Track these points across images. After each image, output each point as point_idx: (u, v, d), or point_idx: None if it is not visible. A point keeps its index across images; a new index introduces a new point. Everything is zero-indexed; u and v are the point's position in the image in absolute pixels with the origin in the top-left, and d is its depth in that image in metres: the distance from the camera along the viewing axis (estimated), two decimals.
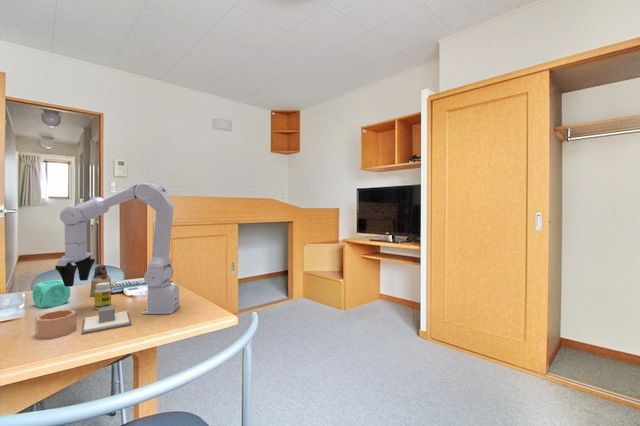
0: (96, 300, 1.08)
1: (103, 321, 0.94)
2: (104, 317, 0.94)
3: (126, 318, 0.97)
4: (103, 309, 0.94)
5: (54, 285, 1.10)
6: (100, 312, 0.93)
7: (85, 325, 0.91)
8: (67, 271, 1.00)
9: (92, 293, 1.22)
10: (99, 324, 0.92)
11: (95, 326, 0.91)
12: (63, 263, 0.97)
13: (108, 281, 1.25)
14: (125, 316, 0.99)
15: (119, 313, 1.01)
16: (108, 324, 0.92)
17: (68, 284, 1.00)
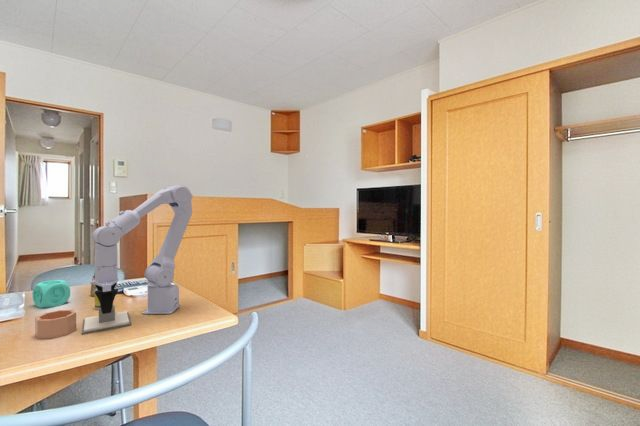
0: (96, 300, 1.08)
1: (103, 321, 0.94)
2: (104, 317, 0.94)
3: (126, 318, 0.97)
4: None
5: (54, 285, 1.10)
6: (100, 312, 0.93)
7: (85, 325, 0.91)
8: (106, 297, 0.92)
9: (92, 293, 1.22)
10: (99, 324, 0.92)
11: (95, 326, 0.91)
12: (109, 288, 0.90)
13: None
14: (125, 316, 0.99)
15: (119, 313, 1.01)
16: (108, 324, 0.92)
17: (107, 311, 0.92)
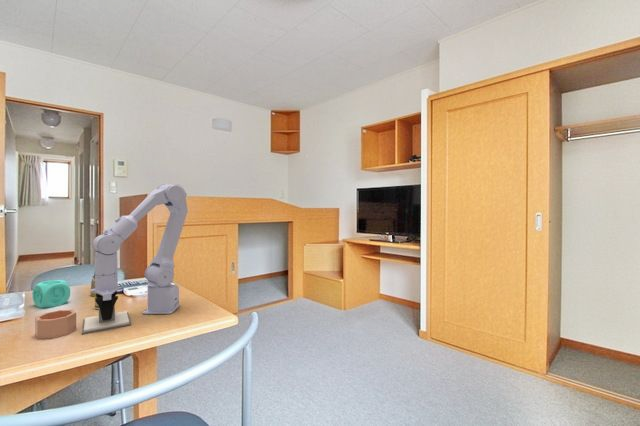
0: None
1: (103, 321, 0.94)
2: None
3: (126, 318, 0.97)
4: None
5: (54, 285, 1.10)
6: (100, 312, 0.93)
7: (85, 325, 0.91)
8: (106, 304, 0.93)
9: (92, 293, 1.22)
10: (99, 324, 0.92)
11: (95, 326, 0.91)
12: (110, 297, 0.90)
13: None
14: (125, 316, 0.99)
15: (119, 313, 1.01)
16: (108, 324, 0.92)
17: (107, 317, 0.94)
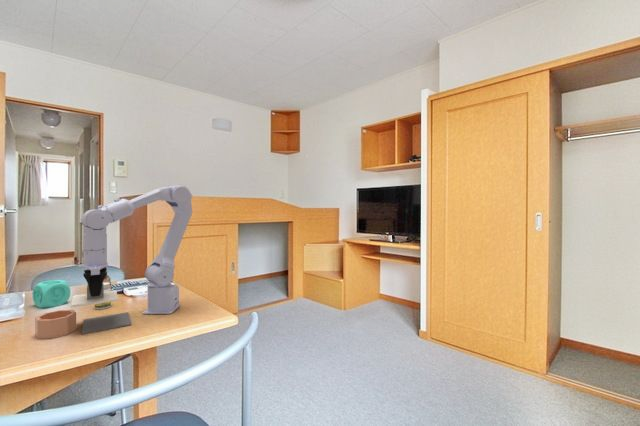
0: None
1: (91, 298, 0.92)
2: None
3: (115, 296, 0.95)
4: None
5: (54, 285, 1.10)
6: (88, 289, 0.91)
7: (73, 301, 0.89)
8: (95, 279, 0.92)
9: None
10: (87, 301, 0.90)
11: (83, 302, 0.89)
12: (98, 271, 0.88)
13: (108, 281, 1.25)
14: (114, 294, 0.97)
15: (108, 292, 0.99)
16: (96, 301, 0.90)
17: (96, 294, 0.92)
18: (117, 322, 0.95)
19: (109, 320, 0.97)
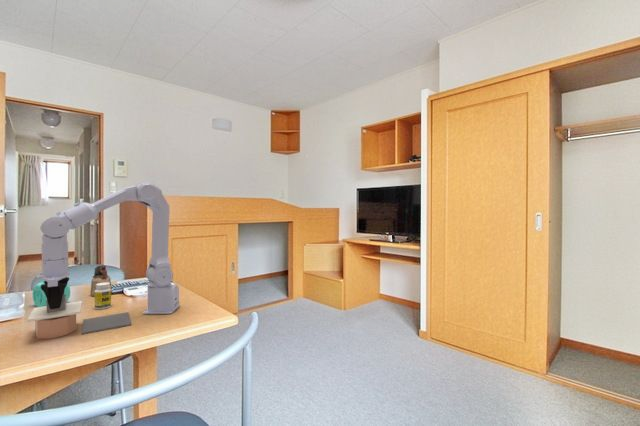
0: (96, 300, 1.08)
1: (52, 311, 0.87)
2: None
3: (78, 308, 0.90)
4: None
5: None
6: None
7: (31, 315, 0.84)
8: (54, 291, 0.86)
9: (92, 293, 1.22)
10: (46, 314, 0.85)
11: (41, 316, 0.84)
12: (56, 283, 0.83)
13: (108, 281, 1.25)
14: (78, 306, 0.92)
15: (73, 303, 0.94)
16: (56, 314, 0.85)
17: (55, 306, 0.87)
18: (117, 322, 0.95)
19: (109, 320, 0.97)
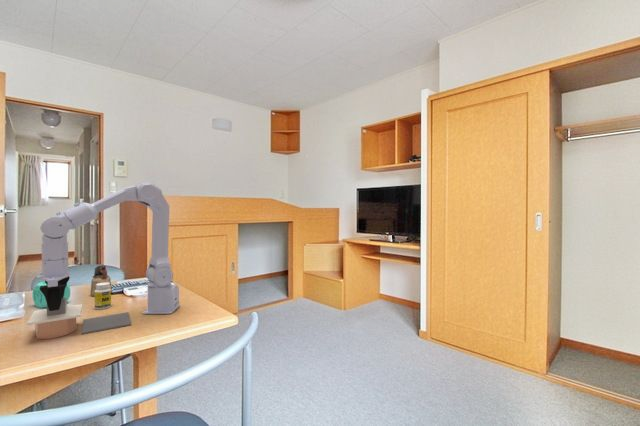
0: (96, 300, 1.08)
1: (52, 314, 0.87)
2: None
3: (78, 311, 0.90)
4: None
5: None
6: None
7: (31, 318, 0.84)
8: (53, 292, 0.85)
9: (92, 293, 1.22)
10: (47, 317, 0.85)
11: (41, 319, 0.84)
12: (56, 283, 0.83)
13: (108, 281, 1.25)
14: (78, 309, 0.92)
15: (73, 306, 0.94)
16: (56, 317, 0.85)
17: (55, 308, 0.85)
18: (117, 322, 0.95)
19: (109, 320, 0.97)
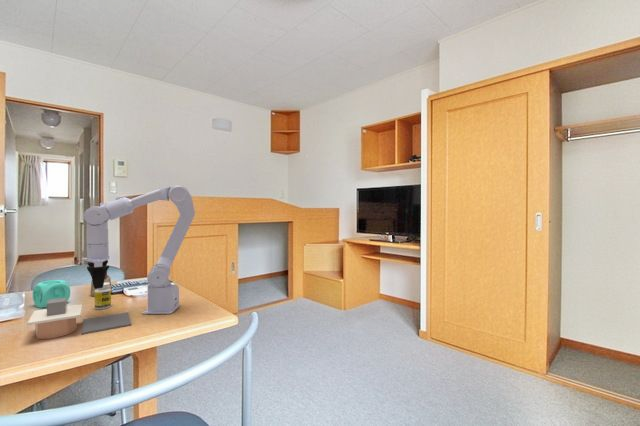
0: (96, 300, 1.08)
1: (52, 314, 0.87)
2: (53, 309, 0.87)
3: (78, 311, 0.90)
4: (52, 302, 0.87)
5: (54, 285, 1.10)
6: (48, 304, 0.86)
7: (31, 318, 0.84)
8: (98, 272, 0.97)
9: (92, 293, 1.22)
10: (47, 317, 0.85)
11: (41, 319, 0.84)
12: (101, 264, 0.95)
13: (108, 281, 1.25)
14: (78, 309, 0.92)
15: (73, 306, 0.94)
16: (56, 317, 0.85)
17: (99, 286, 0.97)
18: (117, 322, 0.95)
19: (109, 320, 0.97)
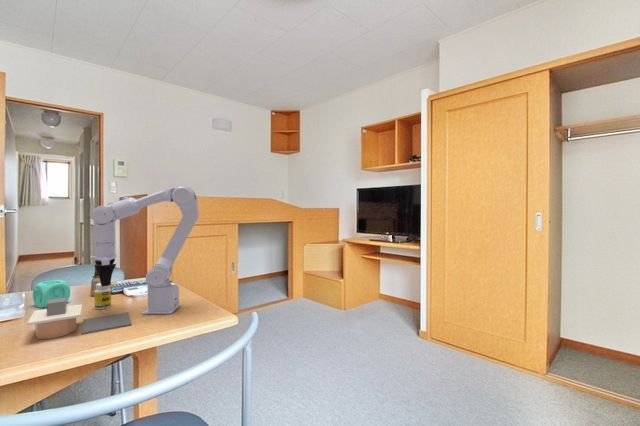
0: (96, 300, 1.08)
1: (52, 314, 0.87)
2: (53, 309, 0.87)
3: (78, 311, 0.90)
4: (52, 302, 0.87)
5: (54, 285, 1.10)
6: (48, 304, 0.86)
7: (31, 318, 0.84)
8: (105, 270, 0.99)
9: (92, 293, 1.22)
10: (47, 317, 0.85)
11: (41, 319, 0.84)
12: (108, 262, 0.97)
13: None
14: (78, 309, 0.92)
15: (73, 306, 0.94)
16: (56, 317, 0.85)
17: (106, 283, 1.00)
18: (117, 322, 0.95)
19: (109, 320, 0.97)
